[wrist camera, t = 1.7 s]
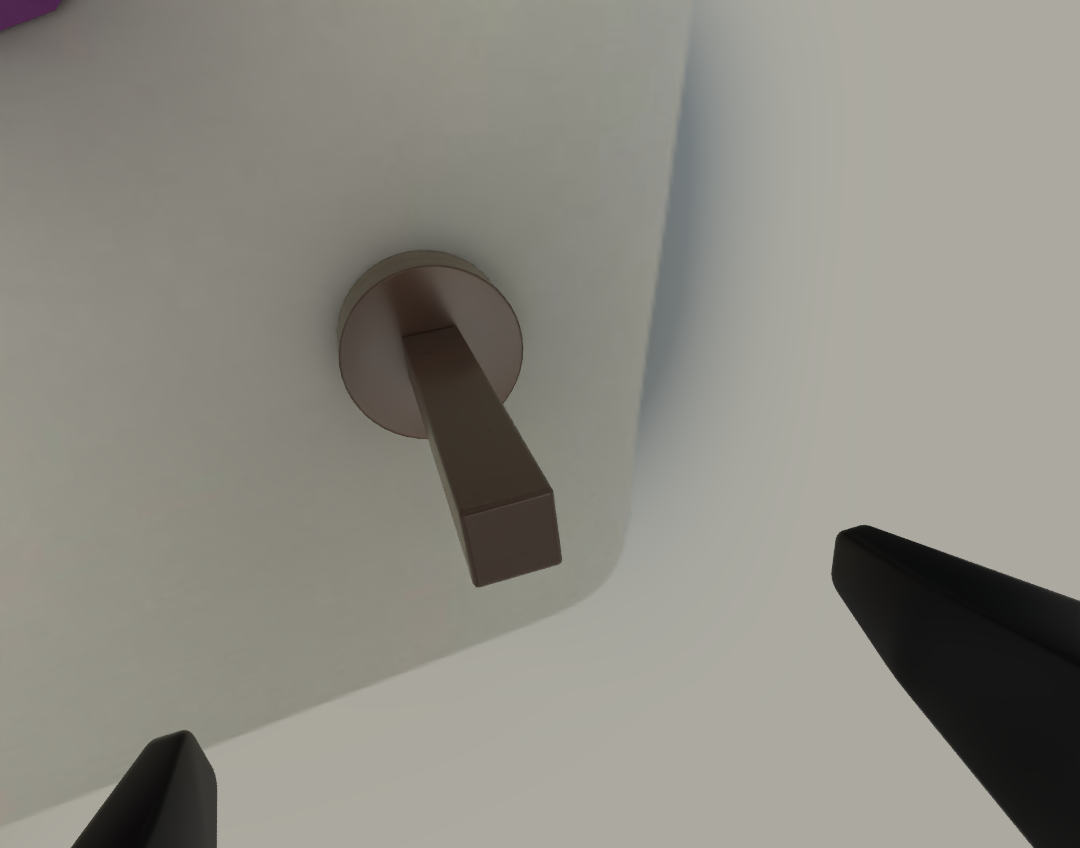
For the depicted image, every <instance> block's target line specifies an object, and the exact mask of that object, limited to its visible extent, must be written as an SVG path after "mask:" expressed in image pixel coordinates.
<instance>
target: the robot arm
mask: <svg viewBox="0 0 1080 848" xmlns="http://www.w3.org/2000/svg"><path fill="white" fill-rule="evenodd" d="M831 575H832V581H833V584H834V586H835V589H836V590H837V592H838V593H839V595H840V596H841V598H842V599H843V601H844V603H845V604H846V606H847V607H848V608H849V610H850V611H851V613H852V614H853V616H854V617H855V619H856V620H857V622H858V623H859V625H860V626H861V628H862V629H863V631H864V632H865V634H866V635H867V637H868V638H869V640H870V641H871V643H872V644H873V646H874V647H875V649H876V650H877V652H878V653H879V655H880V656H881V658H882V659H883V661H884V662H885V664H886V665H887V667H888V668H889V670H890V671H891V672H892V674H893V675H894V677H895V678H896V679H897V681H898V682H899V683H900V684H901V686H902V687H903V688H904V690H905V691H906V692H907V693H908V694H909V696H910V697H911V698H912V700H913V701H914V702H915V703H916V704H917V705H918V707H919V708H920V709H921V711H922V712H923V713H924V714H925V715H926V717H927V718H928V719H929V720H930V722H931V723H932V724H933V725H934V727H935V728H936V729H937V730H938V731H939V732H940V734H941V735H942V736H943V738H944V739H945V740H946V741H947V742H948V743H949V745H950V746H951V747H952V749H953V750H954V751H955V752H956V753H957V755H958V756H959V757H960V758H961V759H962V761H963V762H964V763H965V764H966V766H967V767H968V768H969V769H970V771H971V772H972V773H973V774H974V776H975V777H976V778H977V779H978V780H979V782H980V783H981V784H982V785H983V787H984V788H985V789H986V790H987V791H988V793H989V794H990V795H991V796H992V798H993V799H994V800H995V801H996V802H997V804H998V805H999V806H1000V807H1001V808H1002V810H1003V811H1004V812H1005V814H1006V815H1007V816H1008V817H1009V818H1010V820H1011V821H1012V822H1013V823H1014V825H1015V826H1016V827H1017V828H1018V829H1019V831H1020V832H1021V833H1022V834H1023V836H1024V837H1025V838H1026V839H1027V840H1028V842H1029V843H1030V844H1031V845H1032V846H1033V848H1080V601H1078V600H1075V599H1073V598H1070V597H1067V596H1064V595H1062V594H1059V593H1056V592H1053V591H1050V590H1048V589H1045V588H1042V587H1039V586H1036V585H1034V584H1031V583H1028V582H1025V581H1022V580H1020V579H1017V578H1014V577H1011V576H1009V575H1006V574H1003V573H1000V572H997V571H995V570H992V569H989V568H986V567H983V566H981V565H978V564H975V563H972V562H969V561H966V560H964V559H961V558H958V557H955V556H953V555H950V554H947V553H944V552H941V551H938V550H936V549H933V548H930V547H927V546H925V545H922V544H919V543H916V542H913V541H911V540H908V539H905V538H902V537H900V536H896V535H894V534H891V533H888V532H886V531H883V530H880V529H877V528H874V527H871V526H868V525H860V526H857V527H854V528H850V529H847V530H843V531H841V532H840V533H839V534H838V535H837V537H836V541H835V549H834V556H833V564H832V573H831ZM71 848H217V782H216V777H215V773H214V770H213V768H212V766H211V764H210V763H209V761H208V759H207V758H206V756H205V754H204V752H203V751H202V749H201V747H200V745H199V744H198V742H197V740H196V738H195V737H194V735H193V734H192V733H191V732H189V731H187V730H182V731H179V732H175V733H172V734H169V735H165V736H162V737H159V738H156V739H154V740H152V741H151V742H150V743H149V744H148V745H147V746H146V747H145V748H144V750H143V751H142V752H141V754H140V755H139V756H138V758H137V759H136V760H135V762H134V763H133V764H132V766H131V767H130V769H129V770H128V771H127V773H126V774H125V775H124V777H123V778H122V779H121V781H120V782H119V783H118V785H117V786H116V787H115V789H114V790H113V791H112V793H111V794H110V796H109V797H108V798H107V800H106V801H105V802H104V804H103V805H102V806H101V808H100V809H99V810H98V812H97V813H96V814H95V816H94V817H93V819H92V820H91V821H90V823H89V824H88V826H87V827H86V828H85V829H84V831H83V832H82V833H81V835H80V836H79V837H78V839H77V840H76V842H75V843H74V844H73V846H72V847H71Z"/></svg>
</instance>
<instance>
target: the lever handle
mask: <svg viewBox="0 0 1080 848" xmlns="http://www.w3.org/2000/svg"><path fill="white" fill-rule="evenodd" d="M337 337H338V353H339V366H340V371H341V376H342V379H343V382H344V385H345V387H346V389H347V391H348V393H349V395H350V397H351V399H352V400H353V401H354V403H355V404H356V405H357V407H358V408H359V409H360V410H361V411H362V412H363V413H364V414H365V415H366V416H367V417H368V418H369V419H371V420H372V421H373V422H374V423H376V424H378V425H379V426H381V427H383V428H384V429H387V430H389V431H391V432H393V433H396V434H399V435H403V436H406V437H412V438H417V439H428V440H429V443H430V446H431V450H432V453H433V456H434V459H435V462H436V466H437V469H438V472H439V475H440V479H441V482H442V485H443V488H444V491H445V495H446V498H447V501H448V504H449V508H450V511H451V514H452V517H453V521H454V524H455V527H456V530H457V533H458V537H459V540H460V543H461V546H462V550H463V553H464V556H465V559H466V562H467V566H468V569H469V572H470V575H471V579H472V582H473V584H474V585H475V586H476V587H483V586H486V585H489V584H493V583H496V582H500V581H503V580H507V579H510V578H514V577H517V576H520V575H524V574H527V573H531V572H534V571H538V570H541V569H545V568H548V567H551V566H555V565H558V564H560V563H561V561H562V555H561V547H560V540H559V532H558V524H557V517H556V509H555V501H554V494H553V490H552V488H551V486H550V485H549V483H548V481H547V480H546V478H545V476H544V474H543V473H542V471H541V469H540V468H539V466H538V464H537V462H536V461H535V459H534V457H533V456H532V454H531V452H530V450H529V449H528V447H527V445H526V444H525V442H524V440H523V438H522V437H521V435H520V433H519V432H518V430H517V428H516V426H515V425H514V423H513V421H512V420H511V418H510V416H509V414H508V413H507V411H506V409H505V408H504V406H503V403H504V402H505V401H506V399H507V398H508V396H509V395H510V393H511V392H512V390H513V388H514V386H515V384H516V381H517V379H518V376H519V373H520V369H521V364H522V358H523V340H522V334H521V329H520V325H519V322H518V320H517V317H516V315H515V313H514V311H513V309H512V307H511V305H510V304H509V303H508V301H507V300H506V298H505V297H504V296H503V295H502V294H501V293H500V291H499V290H498V289H497V288H496V287H495V286H494V285H493V284H492V283H491V281H490V280H489V279H488V278H487V277H486V276H485V275H484V274H483V273H482V272H481V271H480V270H478V269H477V268H476V267H475V266H473V265H472V264H470V263H468V262H467V261H465V260H463V259H461V258H458V257H456V256H454V255H450V254H447V253H443V252H437V251H421V250H419V251H411V252H405V253H401V254H397V255H394V256H392V257H389V258H387V259H385V260H383V261H381V262H379V263H378V264H376V265H374V266H373V267H372V268H370V269H369V270H368V271H366V272H365V273H364V274H363V275H362V276H361V277H360V278H359V279H358V280H357V281H356V283H355V284H354V285H353V287H352V288H351V289H350V291H349V293H348V295H347V296H346V298H345V300H344V303H343V305H342V308H341V311H340V315H339V320H338V329H337Z"/></svg>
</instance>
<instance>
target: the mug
mask: <svg viewBox="0 0 1080 848" xmlns="http://www.w3.org/2000/svg"><path fill="white" fill-rule="evenodd" d="M60 2H61V0H0V31H2V30H4V29H7V28H10V27H12V26H15V25H18V24H20V23H23V22H25V21H28V20H31V19H33V18H36V17H39V16H41V15H44V14H47V13H49V12H52V11H55V10H56V9H57V7H58V5H59V3H60Z"/></svg>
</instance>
